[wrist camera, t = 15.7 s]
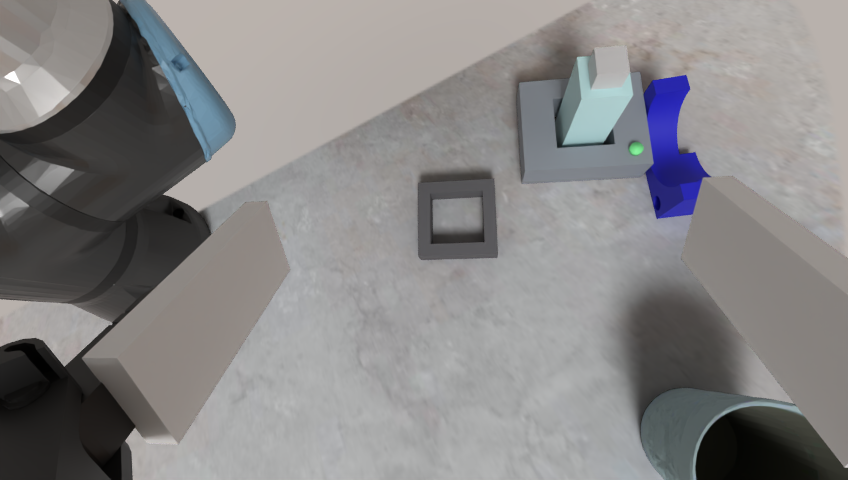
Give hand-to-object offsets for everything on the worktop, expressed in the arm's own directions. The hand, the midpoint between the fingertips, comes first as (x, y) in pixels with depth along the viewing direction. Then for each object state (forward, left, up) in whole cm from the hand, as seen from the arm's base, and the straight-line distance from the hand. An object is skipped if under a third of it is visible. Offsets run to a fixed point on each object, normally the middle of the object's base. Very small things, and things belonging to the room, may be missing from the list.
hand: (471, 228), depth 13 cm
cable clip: (+20, +14, -30) cm, 39 cm away
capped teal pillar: (+11, +18, -30) cm, 36 cm away
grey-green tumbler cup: (+18, -12, -30) cm, 37 cm away
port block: (+11, +18, -30) cm, 36 cm away
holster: (-2, +9, -30) cm, 31 cm away
